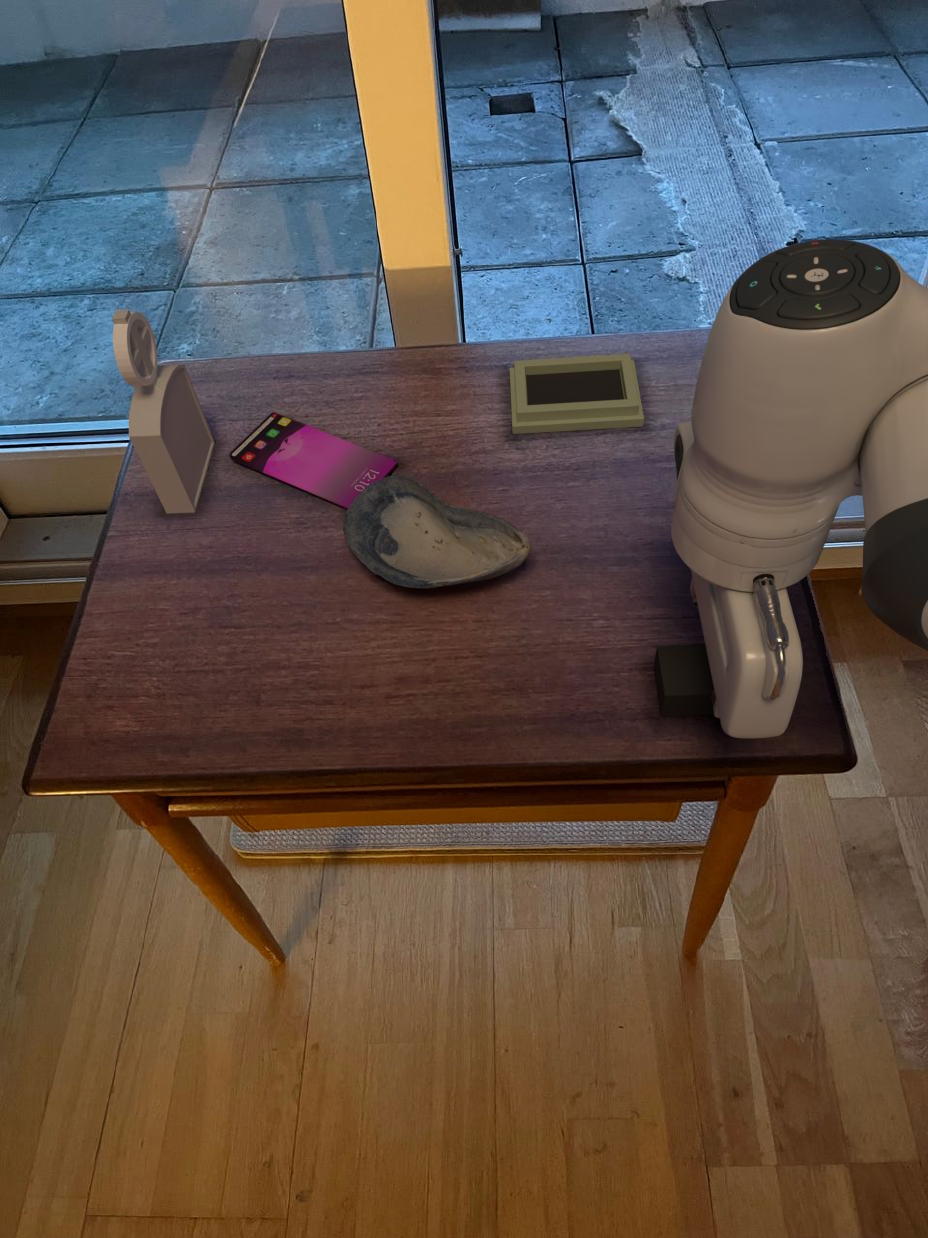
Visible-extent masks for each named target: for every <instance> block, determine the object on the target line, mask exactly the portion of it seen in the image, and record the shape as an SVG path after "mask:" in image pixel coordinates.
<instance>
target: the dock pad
mask: <svg viewBox="0 0 928 1238" xmlns="http://www.w3.org/2000/svg"><path fill="white" fill-rule="evenodd" d="M631 356H632V355H631V353H630V352H629V353H616V354H615V353H614V354H600V355H599V354H597V355H585V356H567V357H566V356H565V357H553V358H551V357H550V358H536V359H535V358H534V359H522V360H520V359H519V360H514V362H513V365H514V366H513V367H509V388H510V409H511V411H510V412H511V432H512V435H519V434H520V435H524V434H537V433H538V434H539V433H554V432H555V433H556V432H557V433H558V432H569V431H570V432H573V431H590V430H606V429H607V430H608V429H609V430H610V429H624V428H625V429H626V428H641V427H644V423H645V415H644V409H643V403H642V397H641V393H640V389H639V382H638V376H637V370H636V364H635V359H632V357H631Z"/></svg>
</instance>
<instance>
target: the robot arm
mask: <svg viewBox="0 0 928 1238" xmlns="http://www.w3.org/2000/svg"><path fill="white" fill-rule="evenodd" d="M696 381H697V382H696V385H695V390H694V396H693V401H692V405H691V406H692V407H691V416H690V418H691V420H689V421H680V422H679V423H678V424H677V426H676V428H675V432H674V439H673V449H674V450H673V451H674V452H673V453H674V462H675V469H676V470H675V471H676V472H675V473H676V486H675V492H674V496H673V504H674V508H673V513H672V519H671V525H670V526H671V527H670V534H671V536H670V537H671V541H672V544H673V546H674V549H675V551H676V554H677V555H678V556H679V557H680V559H681V560H682V561H683V563H684V564H685V565H686V566H687V567H688V568H689V569H690V573H691V582H690V587H689V592H690V597H691V601H692V605H693V606H694V607H696V608H698V613H699V618H700V624H701V628H702V629H701V630H702V635H703V639H704V644H705V645H706V650H707V655H708V660H709V665H710V670H711V675H712V680H713V685H714V689H713V694H712V695H711V700H712V706H713V711H714V715H713V716H714V717H715V718H717V719H719V721H720V726H721V729H722V730H723V732H724V734H726V735H728V736H729V737H732V738H735V739H766V738H767V739H768V738H775V737H778V736H781V735H783V734H784V733H785V732H786V731H787V728H788V727H789V723H790V721H791V718H792V716H793V712H794V708H795V705H796V701H797V698H798V694H799V691H800V688H801V682H802V678H803V669H804V658H803V647H802V641H801V637H800V634H799V630H798V626H797V623H796V619H795V615H794V611H793V608H792V605H791V601H790V596H789V594H788V589H787V588H789V587H791V586H792V585H793V586H794V585H795V584H797V583H798V582H800V581H801V580H803V579H805V578H806V577H807V576H808V575H809V574H810V573H811V572H813V570H814V568H815V567H816V565H817V564H818V562H819V560H820V558H821V555H822V553H823V550H824V547H825V545H826V542H827V540H828V537H829V535H830V532H831V529H832V526H833V523H834V522H835V519H836V517H837V514H838V511H839V508H840V505H841V503H843V502H844V501H845V500H846V499H848V498H850V497H856V496H857V497H858V496H860V497H862V506H863V507H862V509H863V520H864V521H863V523H864V532H865V533H864V534H865V535H864V538H863V542H862V571H861V572H862V573H861V575H862V577H861V595H862V598H863V601H864V603H865V604H866V607H867V608H868V610H869V611H870V612H871V613H872V614H873V615H874V616H875V617H876V618H877V619H878V620H880V621H881V622H882V623H883V624H884V625H885V626H887V627H888V628H889V629H891V630H892V631H894V632H895V633H897V634H898V635H899V636H900V637H902V638H903V639H905V640H907V641H908V642H910V643H912V644H914V645H915V646H917V647H919V648H921V649H923V650H925V651H927V652H928V287H926V286H925V285H923V284H921V283H920V282H918V281H917V280H915V279H914V278H913V277H912V276H910V275H909V274H908V272H906V271H905V269H904V268H903V267H902V265H901V264H900V263H899V262H898V261H897V260H896V259H895V257H893V256H892V255H890V254H889V253H888V252H886V251H884V250H882V249H880V248H878V247H877V246H873V245H870V244H867V243H864V242H860V241H855V240H848V239H834V238H833V239H832V238H831V239H816V240H808V241H804V242H803V241H802V242H797V243H794V244H790V245H787V246H784V247H781V248H778V249H776V250H773V251H772V252H770V253H768V254H766V255H763V256H762V257H761V258H759V259H758V260H756V261H755V262H754V263H752V264H751V265H750V266H749V267H747V268H746V269H745V270H744V271H743V272H742V273H741V274H740V275H739V276H738V277H737V278H736V279H735V281H734V283H733V284H732V285H731V287H730V288H729V289H728V291H727V292H726V295H725V296H724V298H723V299H722V302H721V304H720V306H719V308H718V310H717V313H716V315H715V317H714V320H713V322H712V326H711V329H710V332H709V334H708V338H707V341H706V344H705V347H704V352H703V354H702V358H701V362H700V367H699V371H698V376H697V380H696Z"/></svg>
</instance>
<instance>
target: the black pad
mask: <svg viewBox="0 0 928 1238" xmlns="http://www.w3.org/2000/svg"><path fill="white" fill-rule="evenodd" d="M655 650H656V651H655V657H654V664H653V674H654V679H655V686H656V694H657V700H658V707H659V713H660V714H659V715H660V717H687V716H688V717H689V716H691V717H692V716H712V715H713V716H714V711H713V706H712V700H711V695H712V694H713V689H714V685H713V680H712V675H711V670H710V665H709V660H708V655H707V650H706V645H705V643H690V644H667V645H657V646H656V649H655Z"/></svg>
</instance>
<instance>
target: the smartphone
mask: <svg viewBox="0 0 928 1238" xmlns="http://www.w3.org/2000/svg"><path fill="white" fill-rule="evenodd" d="M228 456H229V459H230V460H232V461H234V462H236V463H239V464H241V465H243V466H244V467H247V468H250V469H252V470H255V471H257V472H260V473H263V474H265V475H267V476H269V477H271V478H273V479H276V480H278V481H280V482H284V483H285V484H288V485H290V486H293V487H295V488H297V489H300V490H302V491H305V492H307V493H309V494H312V495H313V496H316V497H318V498H321V499H323V500H326V501H328V502H330V503H333V504H335V505H337V506H340V507H342V508H344V509H346V510H348V507H349V506H350V505H351V503H352V501H353V500H354V499H355V498H356V496H357V495H359V494H360V493H361V491H362V490H364V489H365V488H366V487H367V486H369V485H370V484H371V483H373V482H375V481H377V480H379V479H381V478H384V477H388V476H390V474H391V473H392V472H393V471H394V470H395V469H396V467H397V466H398V464H399V461H398V460H397V459H394V458H392V457H390V456H387V455H385V454H382V453H380V452H377V451H375V450H372V449H369V448H367V447H364V446H361V445H359V444H356V443H354V442H351V441H348V440H347V439H344V438H341V437H339V436H337V435H334V434H331V433H329V432H326V431H324V430H321V429H318V428H315V427H314V426H311V425H308V424H306V423H303V422H301V421H298V420H295V419H292V418H290V417H287V416H285V415H283V414H281V413H278V412H274V411H273V412H270V414H269V415H268V416H266V418H264V420H262V422H260V424H258V425H257V426H256V427H255V428H254V429H253V430H252V431H251V432H250V433H249V434H248V435H247V436H246V437H245V438H243V440H241V442H240V443H238V444H237V445H236V446H235V447H234V448H233V449H232V450H231V451H230V452H229V455H228Z"/></svg>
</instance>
